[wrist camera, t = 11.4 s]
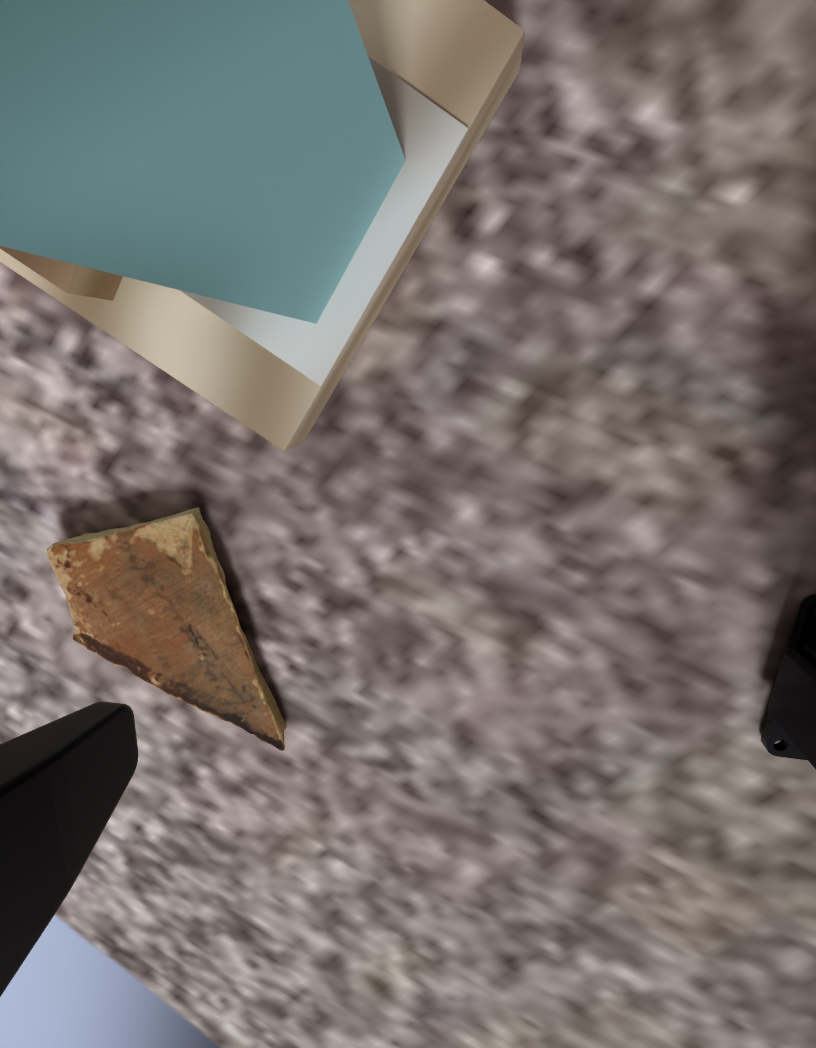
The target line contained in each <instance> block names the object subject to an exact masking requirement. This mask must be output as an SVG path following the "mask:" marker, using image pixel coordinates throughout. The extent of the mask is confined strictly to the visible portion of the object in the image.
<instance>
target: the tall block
mask: <svg viewBox="0 0 816 1048" xmlns="http://www.w3.org/2000/svg"><path fill="white" fill-rule="evenodd" d="M405 161H406V160H405V157H404V155H403V152H402V149H401V146H400V144H399V141H398V138H397V135H396V132H395V130H394V127H393V124H392V121H391V119H390V116H389V113H388V110H387V107H386V105H385V102H384V99H383V96H382V94H381V91H380V88H379V85H378V82H377V80H376V77H375V74H374V71H373V69H372V66H371V63H370V60H369V57H368V55H367V52H366V49H365V46H364V44H363V41H362V38H361V35H360V32H359V30H358V27H357V24H356V21H355V19H354V16H353V13H352V10H351V7H350V5H349V2H348V0H0V246H3V247H7V248H11V249H15V250H19V251H23V252H27V253H31V254H35V255H39V256H43V257H47V258H51V259H55V260H59V261H63V262H67V263H72V264H76V265H80V266H84V267H88V268H92V269H96V270H100V271H104V272H108V273H112V274H116V275H120V276H124V277H128V278H132V279H136V280H140V281H145V282H149V283H153V284H157V285H161V286H165V287H169V288H173V289H177V290H181V291H185V292H189V293H193V294H197V295H201V296H205V297H209V298H213V299H217V300H222V301H226V302H230V303H234V304H238V305H242V306H246V307H250V308H254V309H258V310H262V311H266V312H270V313H274V314H278V315H282V316H286V317H290V318H295V319H299V320H303V321H307V322H311V323H315V324H317V322H318V320H319V318H320V317H321V315H322V313H323V311H324V309H325V307H326V306H327V304H328V302H329V300H330V298H331V296H332V295H333V293H334V291H335V289H336V287H337V285H338V284H339V282H340V280H341V278H342V276H343V274H344V273H345V271H346V269H347V267H348V265H349V263H350V262H351V260H352V258H353V256H354V254H355V253H356V251H357V249H358V247H359V245H360V243H361V242H362V240H363V238H364V236H365V234H366V232H367V231H368V229H369V227H370V225H371V223H372V221H373V220H374V218H375V216H376V214H377V212H378V210H379V209H380V207H381V205H382V203H383V201H384V199H385V198H386V196H387V194H388V192H389V190H390V188H391V187H392V185H393V183H394V181H395V179H396V178H397V176H398V174H399V172H400V170H401V168H402V167H403V165H404V163H405Z"/></svg>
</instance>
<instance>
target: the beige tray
mask: <svg viewBox="0 0 816 1048" xmlns="http://www.w3.org/2000/svg"><path fill="white" fill-rule="evenodd" d="M348 2H349V5H350V7H351V10H352V13H353V16H354V19H355V21H356V24H357V27H358V30H359V32H360V35H361V38H362V41H363V44H364V46H365V49H366V52H367V55H368V57H369V60H370V63H371V66H372V69H373V71H374V74H375V77H376V80H377V82H378V85H379V88H380V91H381V94H382V96H383V99H384V102H385V105H386V107H387V110H388V113H389V116H390V119H391V121H392V124H393V127H394V130H395V132H396V135H397V138H398V141H399V144H400V146H401V149H402V152H403V155H404V157H405V160H406V161H405V163H404V165H403V167H402V168H401V170H400V172H399V174H398V176H397V178H396V179H395V181H394V183H393V185H392V187H391V188H390V190H389V192H388V194H387V196H386V198H385V199H384V201H383V203H382V205H381V207H380V209H379V210H378V212H377V214H376V216H375V218H374V220H373V221H372V223H371V225H370V227H369V229H368V231H367V232H366V234H365V236H364V238H363V240H362V242H361V243H360V245H359V247H358V249H357V251H356V253H355V254H354V256H353V258H352V260H351V262H350V263H349V265H348V267H347V269H346V271H345V273H344V274H343V276H342V278H341V280H340V282H339V284H338V285H337V287H336V289H335V291H334V293H333V295H332V296H331V298H330V300H329V302H328V304H327V306H326V307H325V309H324V311H323V313H322V315H321V317H320V318H319V320H318V322H317V324H315V323H311V322H307V321H303V320H299V319H295V318H290V317H286V316H282V315H278V314H274V313H270V312H266V311H262V310H258V309H254V308H250V307H246V306H242V305H238V304H234V303H230V302H226V301H222V300H217V299H213V298H209V297H205V296H201V295H197V294H193V293H189V292H185V291H181V290H177V289H173V288H169V287H165V286H161V285H157V284H153V283H149V282H145V281H140V280H136V279H132V278H128V277H124V276H120V275H116V274H112V273H108V272H104V271H100V270H96V269H92V268H88V267H84V266H80V265H76V264H72V263H67V262H63V261H59V260H55V259H51V258H47V257H43V256H39V255H35V254H31V253H27V252H23V251H19V250H15V249H11V248H7V247H3V246H0V262H2V263H3V264H5V265H6V266H8V267H9V268H11V269H12V270H14V271H15V272H17V273H18V274H20V275H21V276H23V277H24V278H26V279H27V280H29V281H30V282H32V283H33V284H35V285H36V286H38V287H39V288H41V289H42V290H44V291H45V292H47V293H48V294H50V295H51V296H52V297H54V298H55V299H57V300H58V301H60V302H61V303H63V304H64V305H66V306H67V307H69V308H70V309H72V310H73V311H75V312H76V313H78V314H79V315H81V316H82V317H84V318H85V319H87V320H88V321H90V322H91V323H93V324H94V325H96V326H97V327H99V328H100V329H102V330H103V331H105V332H106V333H108V334H109V335H111V336H112V337H114V338H115V339H117V340H118V341H120V342H121V343H123V344H124V345H126V346H127V347H129V348H130V349H132V350H133V351H135V352H136V353H138V354H139V355H141V356H142V357H144V358H145V359H147V360H148V361H150V362H151V363H153V364H154V365H156V366H157V367H159V368H160V369H162V370H163V371H165V372H166V373H168V374H169V375H171V376H172V377H174V378H175V379H177V380H178V381H180V382H181V383H183V384H184V385H186V386H187V387H189V388H190V389H192V390H193V391H195V392H196V393H198V394H199V395H201V396H202V397H204V398H205V399H207V400H208V401H210V402H211V403H213V404H214V405H216V406H217V407H219V408H220V409H222V410H223V411H225V412H226V413H228V414H229V415H231V416H232V417H234V418H235V419H237V420H238V421H240V422H241V423H243V424H244V425H246V426H247V427H249V428H250V429H252V430H253V431H255V432H256V433H258V434H259V435H261V436H262V437H264V438H265V439H267V440H268V441H270V442H271V443H273V444H274V445H276V446H277V447H279V448H280V449H282V450H283V451H286V450H288V449H291V448H293V447H295V446H297V445H299V444H302V443H304V441H305V439H306V437H307V436H308V434H309V432H310V431H311V429H312V427H313V425H314V424H315V422H316V420H317V419H318V417H319V415H320V413H321V412H322V410H323V408H324V407H325V405H326V403H327V401H328V400H329V398H330V396H331V394H332V393H333V391H334V389H335V388H336V386H337V384H338V382H339V381H340V379H341V377H342V376H343V374H344V372H345V370H346V369H347V367H348V365H349V364H350V362H351V360H352V358H353V357H354V355H355V353H356V352H357V350H358V348H359V346H360V345H361V343H362V341H363V340H364V338H365V336H366V334H367V333H368V331H369V329H370V327H371V326H372V324H373V322H374V321H375V319H376V317H377V315H378V314H379V312H380V310H381V309H382V307H383V305H384V303H385V302H386V300H387V298H388V297H389V295H390V293H391V291H392V290H393V288H394V286H395V285H396V283H397V281H398V279H399V278H400V276H401V274H402V273H403V271H404V269H405V267H406V266H407V264H408V262H409V261H410V259H411V257H412V255H413V254H414V252H415V250H416V248H417V247H418V245H419V243H420V242H421V240H422V238H423V236H424V235H425V233H426V231H427V230H428V228H429V226H430V224H431V223H432V221H433V219H434V218H435V216H436V214H437V212H438V211H439V209H440V207H441V206H442V204H443V202H444V200H445V199H446V197H447V195H448V194H449V192H450V190H451V188H452V187H453V185H454V183H455V181H456V180H457V178H458V176H459V175H460V173H461V171H462V169H463V168H464V166H465V164H466V163H467V161H468V159H469V157H470V156H471V154H472V152H473V151H474V149H475V147H476V145H477V144H478V142H479V140H480V139H481V137H482V135H483V133H484V132H485V130H486V128H487V127H488V125H489V123H490V121H491V120H492V118H493V116H494V114H495V113H496V111H497V109H498V108H499V106H500V104H501V102H502V101H503V99H504V97H505V96H506V94H507V92H508V90H509V89H510V87H511V85H512V84H513V82H514V80H515V78H516V77H517V75H518V73H519V71H520V63H521V56H522V49H523V42H524V35H525V30H523V29H522V28H521V27H519V26H518V25H517V24H515V23H514V22H513V21H511V20H510V19H509V18H507V17H506V16H505V15H503V14H502V13H501V12H499V11H498V10H497V9H495V8H494V7H493V6H491V5H490V4H488V3H487V2H486V1H484V0H348Z"/></svg>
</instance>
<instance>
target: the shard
mask: <svg viewBox="0 0 816 1048" xmlns="http://www.w3.org/2000/svg"><path fill="white" fill-rule="evenodd" d="M47 556H48V558H49V561H50V563H51V566H52V568H53V570H54V572H55V574H56V576H57V578H58V580H59V581H60V586H61V587H62V589H63V591H64V593H65V595H66V600H67V602H68V604H69V609H70V613H71V616H72V619H73V624H74V626H75V632H74V635H73V640H75V641H76V642H78V643H80V644H82V645H84V646H85V647H86V648H87V649H88V650H90V651H93V652H96V653H97V654H98V655H100V656H101V657H102V658H104V659H106V660H108V661H110V662H111V663H113V664H116V665H119V666H123V667H126V668H128V669H129V670H130V671H131V672H132V673H133V674H134V675H135V676H137V677H139V678H141V679H143V680H144V681H146V682H148V683H150V684H153V685H154V686H156V687H158V688H159V689H161V690H162V691H164V692H166V693H167V694H169V695H171V696H174V697H176V698H179V699H181V700H182V701H183V702H186V703H188V704H190V705H192V706H194V707H196V708H198V709H200V710H202V711H204V712H207V713H209V714H212V715H214V716H216V717H218V718H220V719H222V720H225V721H228V722H231V723H233V724H234V725H237V726H239V727H241V728H243V729H244V730H246V731H247V732H249V733H250V734H254V735H255V736H256V737H258V738H259V739H261V740H262V741H264V742H267V743H269V744H271V745H273V746H275V747H276V748H278V749H279V750H285V745H284V730H285V729H286V727H287V726H286V724H285V721H284V719H283V718H282V715H281V713H280V710H279V708H278V706H277V704H276V700H275V699H274V697H273V695H272V693H271V691H270V689H269V687H268V685H267V683H266V682H265V680H264V678H263V675H262V674H261V672H260V670H259V668H258V666H257V663H256V661H255V659H254V656H253V653H252V650H251V648H250V646H249V644H248V642H247V638H246V636H245V634H244V633H243V631H242V629H241V627H240V624H239V620H238V617H237V614H236V611H235V609H234V606H233V603H232V601H231V597H230V595H229V592H228V589H227V586H226V582H225V575H224V572H223V569H222V567H221V565H220V563H219V561H218V559H217V555H216V553H215V550H214V547H213V543H212V540H211V536H210V531H209V528H208V526H207V524H206V523H205V522H204V520H203V519H202V515H201V512H200V508H198V507H197V508H193V509H190V510H186V511H183V512H181V513H178V514H174V515H171V516H167V517H163V518H160V519H157V520H153V521H150V522H145V523H139V524H135V525H132V526H130V527H124V528H116V529H108V530H105V531H100V532H98V533H85V534H83V535H81V536H77V537H73V538H72V539H66V540H63V541H60V542H57V543H54V544H53V545H52V546H51V547H49V548H48V549H47Z"/></svg>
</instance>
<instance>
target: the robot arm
mask: <svg viewBox="0 0 816 1048" xmlns="http://www.w3.org/2000/svg"><path fill="white" fill-rule="evenodd" d="M815 610H816V594H813V595H811V596H809V597H807V598H806V599H805V600H804V601H803V602H802V604H801V606H800V610H799V613H798V616H797V620H796V623H795V626H794V630H793V633H792V636H791V640H790V643H789V646H788V649H787V650H786V651H785V653H784V654H783V657H782V660H781V664H780V667H779V670H778V674H777V677H776V680H775V684H774V687H773V690H772V694H771V697H770V700H769V704H768V707H767V711H768V716H767V719H766V722H765V726H764V729H763V732H762V735H761V742H762V744H763V745H764V747H765V748H766V749H767V751H768V752H769V753H771V754H772V755H775V756H779V757H787V758H794V759H802V760H809V762H810V763H811V764H812V765H813V766H814V768H815V769H816V613H815ZM777 740H781V742H779V743H777V744H774V743H775V741H777ZM137 762H138V746H137V738H136V730H135V721H134V714H133V711H132V709H131V708H130V706H128V705H126V704H120V703H111V702H97V703H94V704H92V705H90V706H87V707H85V708H83V709H80V710H78V711H76V712H73V713H71V714H69V715H67V716H64V717H62V718H60V719H57V720H55V721H53V722H51V723H48V724H46V725H44V726H41V727H39V728H37V729H34V730H32V731H30V732H28V733H25V734H23V735H21V736H18V737H16V738H14V739H11V740H9V741H7V742H5V743H2V744H0V996H1V995H2V994H3V992H4V990H5V989H6V987H7V986H8V984H9V983H10V981H11V980H12V978H13V977H14V975H15V974H16V972H17V971H18V969H19V967H20V966H21V965H22V963H23V962H24V960H25V958H26V957H27V955H28V954H29V952H30V951H31V949H32V948H33V946H34V945H35V943H36V942H37V940H38V939H39V937H40V936H41V934H42V933H43V931H44V930H45V928H46V926H47V925H48V924H49V922H50V921H51V919H52V918H53V916H54V915H55V913H56V911H57V910H58V908H59V907H60V905H61V904H62V902H63V900H64V899H65V897H66V896H67V894H68V892H69V891H70V889H71V887H72V886H73V884H74V882H75V881H76V879H77V877H78V875H79V874H80V872H81V870H82V868H83V866H84V865H85V863H86V861H87V859H88V857H89V855H90V854H91V852H92V850H93V848H94V846H95V844H96V842H97V841H98V839H99V837H100V835H101V833H102V831H103V830H104V828H105V826H106V824H107V822H108V820H109V819H110V817H111V815H112V813H113V811H114V809H115V807H116V806H117V804H118V802H119V800H120V798H121V796H122V795H123V793H124V791H125V789H126V787H127V785H128V783H129V782H130V780H131V778H132V776H133V774H134V772H135V769H136V766H137Z"/></svg>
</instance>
